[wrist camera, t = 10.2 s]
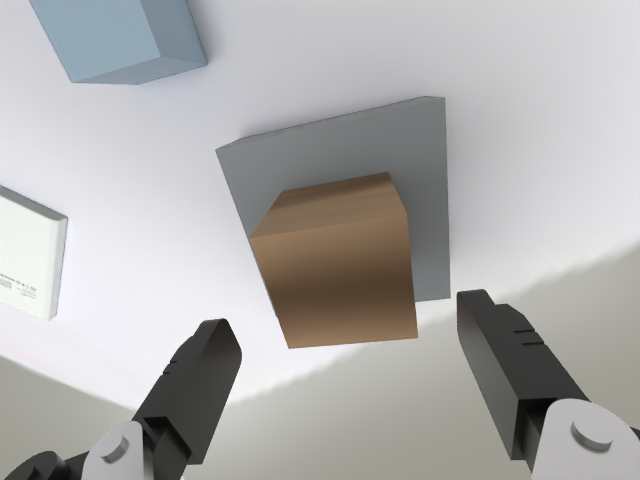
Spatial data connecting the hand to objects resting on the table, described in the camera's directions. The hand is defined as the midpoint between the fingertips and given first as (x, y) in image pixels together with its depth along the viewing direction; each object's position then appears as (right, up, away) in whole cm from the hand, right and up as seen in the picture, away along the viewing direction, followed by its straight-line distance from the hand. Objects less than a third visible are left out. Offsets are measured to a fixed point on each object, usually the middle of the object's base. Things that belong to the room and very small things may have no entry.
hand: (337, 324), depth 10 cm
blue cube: (-10, +16, +7) cm, 20 cm away
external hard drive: (-28, +2, +16) cm, 32 cm away
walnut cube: (+1, +4, +7) cm, 8 cm away
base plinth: (+1, +5, +11) cm, 12 cm away
